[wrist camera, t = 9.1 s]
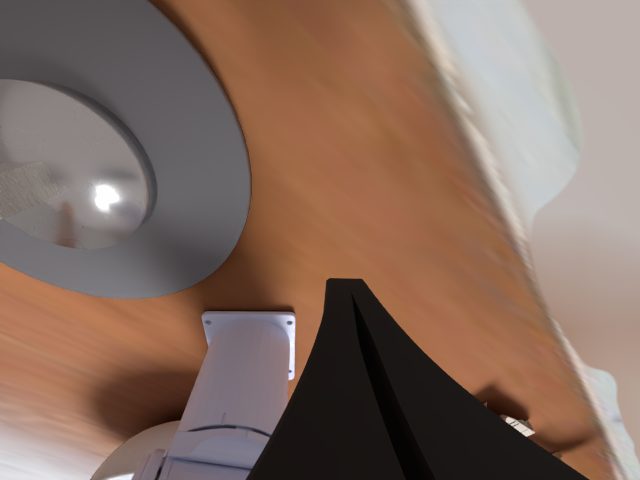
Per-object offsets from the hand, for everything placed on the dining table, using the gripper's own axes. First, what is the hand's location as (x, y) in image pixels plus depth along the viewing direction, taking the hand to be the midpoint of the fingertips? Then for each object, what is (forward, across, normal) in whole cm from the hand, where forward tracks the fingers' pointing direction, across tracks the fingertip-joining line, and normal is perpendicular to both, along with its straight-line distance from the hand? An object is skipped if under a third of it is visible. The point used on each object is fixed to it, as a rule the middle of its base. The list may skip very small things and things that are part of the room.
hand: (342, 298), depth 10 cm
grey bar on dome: (+8, +17, -2) cm, 19 cm away
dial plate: (+9, +15, -2) cm, 18 cm away
